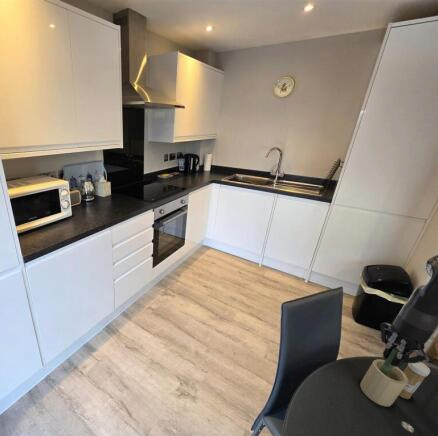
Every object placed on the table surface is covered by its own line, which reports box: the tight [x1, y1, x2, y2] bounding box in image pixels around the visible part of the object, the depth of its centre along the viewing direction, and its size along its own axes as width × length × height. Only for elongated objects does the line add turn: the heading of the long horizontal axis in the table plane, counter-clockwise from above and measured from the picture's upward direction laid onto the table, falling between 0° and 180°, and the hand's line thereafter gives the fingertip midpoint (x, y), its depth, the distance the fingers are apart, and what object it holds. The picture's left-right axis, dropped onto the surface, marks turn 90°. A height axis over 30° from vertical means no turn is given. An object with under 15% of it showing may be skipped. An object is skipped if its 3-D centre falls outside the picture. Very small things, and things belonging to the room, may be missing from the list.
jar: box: [359, 358, 408, 407], centre depth 80 cm, size 8×8×11 cm
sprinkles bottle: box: [398, 362, 431, 400], centre depth 80 cm, size 5×5×13 cm
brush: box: [380, 347, 399, 376], centre depth 78 cm, size 4×4×18 cm
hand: (390, 361), depth 77 cm, fingers closed on brush, 2 cm apart
